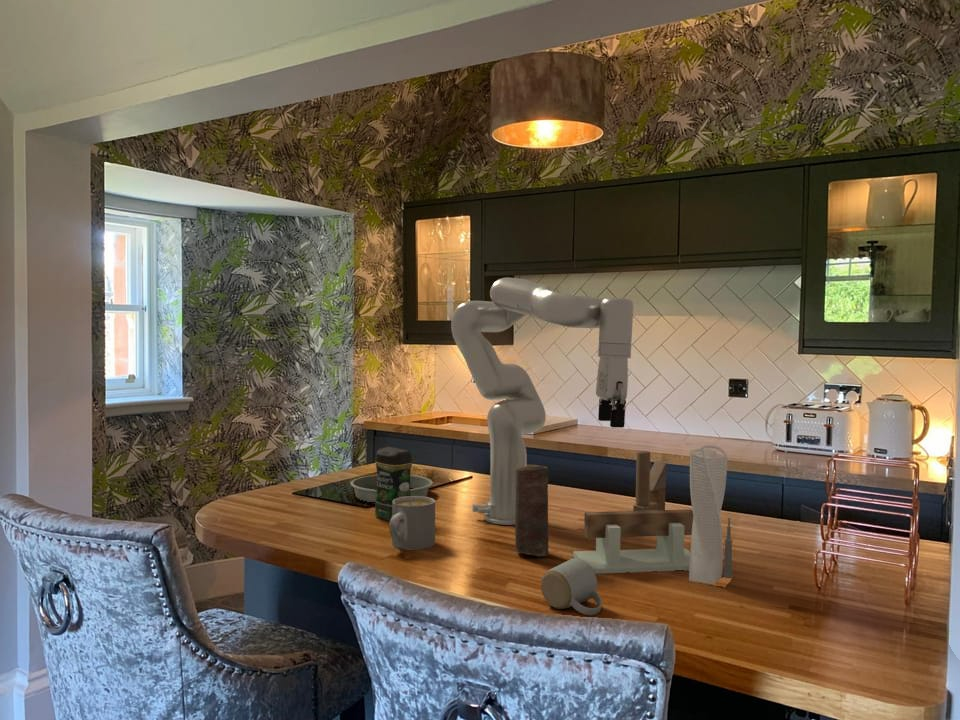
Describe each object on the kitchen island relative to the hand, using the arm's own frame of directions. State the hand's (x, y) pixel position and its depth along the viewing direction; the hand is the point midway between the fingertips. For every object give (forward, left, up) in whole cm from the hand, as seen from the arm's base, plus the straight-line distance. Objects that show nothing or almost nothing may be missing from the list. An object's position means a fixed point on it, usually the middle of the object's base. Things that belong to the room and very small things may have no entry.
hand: (610, 423), depth 168 cm
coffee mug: (-47, +3, -29) cm, 55 cm away
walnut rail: (+2, -15, -22) cm, 27 cm away
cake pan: (-50, +54, -29) cm, 79 cm away
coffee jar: (-50, +28, -29) cm, 64 cm away
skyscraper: (+12, -27, -29) cm, 41 cm away
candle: (-20, -7, -29) cm, 36 cm away
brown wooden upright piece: (+19, +23, -29) cm, 41 cm away
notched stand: (+2, -15, -28) cm, 32 cm away
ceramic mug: (-18, -37, -29) cm, 50 cm away
